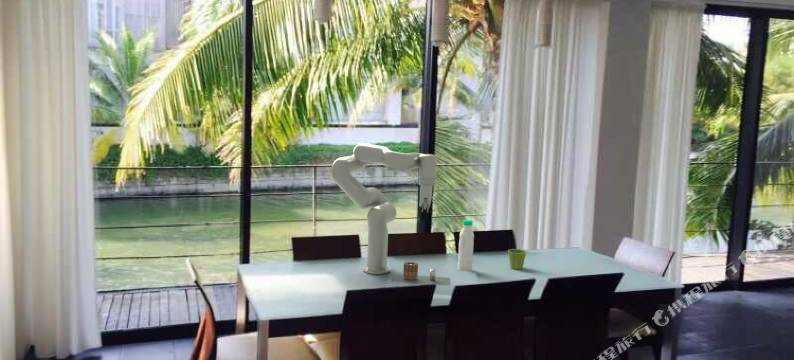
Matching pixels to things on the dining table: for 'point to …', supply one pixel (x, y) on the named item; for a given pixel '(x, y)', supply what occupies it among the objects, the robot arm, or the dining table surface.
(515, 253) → the plant pot
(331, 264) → the dining table surface
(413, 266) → the sleeve
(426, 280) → the post board
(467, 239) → the water bottle
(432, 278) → the steel posts
